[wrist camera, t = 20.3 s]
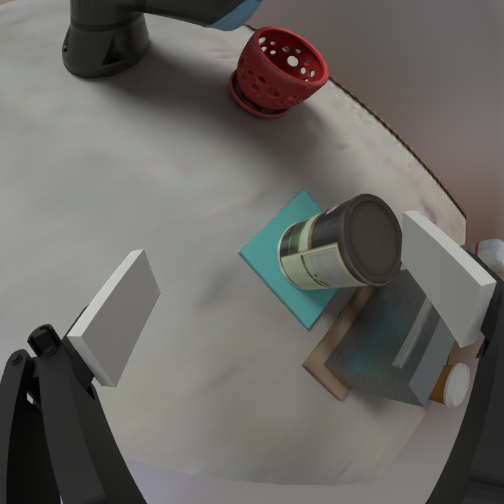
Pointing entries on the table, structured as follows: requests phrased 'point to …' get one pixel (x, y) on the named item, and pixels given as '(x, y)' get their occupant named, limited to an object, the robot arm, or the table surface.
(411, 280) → the mounted unit
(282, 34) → the plant pot
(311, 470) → the table surface
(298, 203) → the pad
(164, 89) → the table surface
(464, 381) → the disposable coffee cup
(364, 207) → the coffee can
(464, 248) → the spray can
